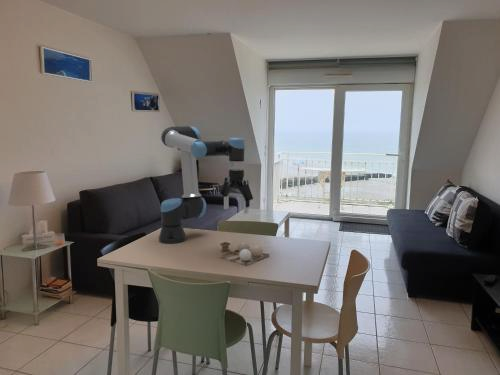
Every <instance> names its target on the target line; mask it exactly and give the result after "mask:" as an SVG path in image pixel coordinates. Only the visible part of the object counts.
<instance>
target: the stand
mask: <svg viewBox="0 0 500 375" xmlns="http://www.w3.org/2000/svg"><path fill="white" fill-rule="evenodd" d="M219 245H220V246H221V247H222V249H220V250H219V251H220V252H221V253H222V254H226V253H229V252H231V249H230V248H229V247H230V246H231V243H230V242H227V241H223V242H220V244H219Z"/></svg>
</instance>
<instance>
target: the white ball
mask: <svg viewBox="0 0 500 375" xmlns="http://www.w3.org/2000/svg"><path fill="white" fill-rule="evenodd" d="M239 257H240V259H241V260H242V261H245V262H246V261H249V260H250V259H251V257H252V254H251V252H250V250H248V249H243V250H241V251H240V253H239Z"/></svg>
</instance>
